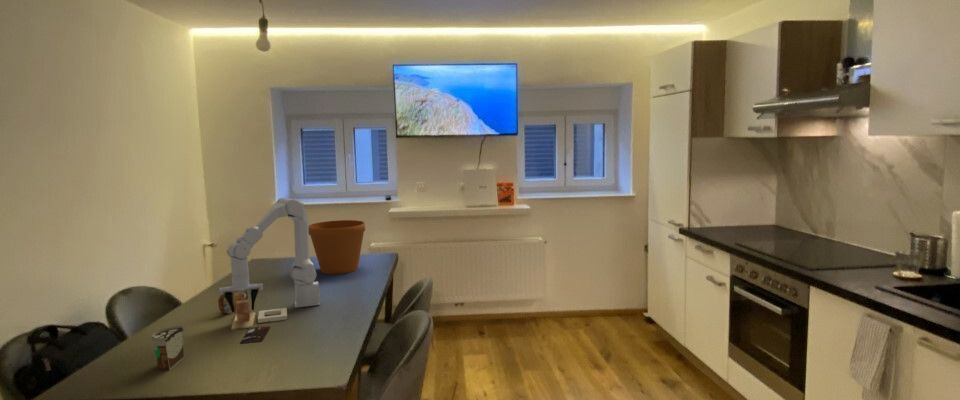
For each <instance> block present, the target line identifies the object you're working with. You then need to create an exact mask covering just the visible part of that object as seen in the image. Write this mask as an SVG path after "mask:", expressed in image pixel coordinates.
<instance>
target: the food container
mask: <svg viewBox="0 0 960 400" xmlns="http://www.w3.org/2000/svg"><path fill="white" fill-rule="evenodd" d="M184 332H185V329H184V325H181V324H180V325H174V326H170V327H169V326H168V327H166V328H165V327H164V328H162V329H160V330H157V331H155V332H154V333H153V334H152V336H151V340H150V343H151V345H152V346H153V347H154V353H155V357H156V363H157V368H158V369H159V370H161V371H171V370H172V369H173V368H174V367H175V366H177V364H179V363H180V362H181V361H182V360H183V359H184V358H185V344H184V343H185V342H184V339H185V338H184Z"/></svg>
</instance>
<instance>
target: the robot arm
mask: <svg viewBox="0 0 960 400" xmlns="http://www.w3.org/2000/svg"><path fill="white" fill-rule="evenodd" d="M283 217H288V218H289V219H291V220H292V221H293V229H294V230H293V231H294V258H295V260H294V261H292V262H293V263H292V267H291V271H290V277H291V279H292V280H293V281H294V282H293V283H294V292H295V293H294V295H295V301H294V307H295V309H296V308H304V307H312V306H320V305H321V301H320V300H321V294H320V286H319V281H315V280H316V278H317V271H316V269H315V265H314V264H315V263H313V262H312V260H311V258H310V235H309V228H308V226H309V215H308V213H307V211H306V209H305V207H304V203H303V202H302V201H300V200H299V199H297V198H286V197H281V198H278V199H277V200H276V202H274V203H273V204H272V205H271V208H270V209H269V211H267V212H266V213H265V215H264V216H263V217H262V218H261V219H260V221H259V222H258V223H256V225H254V226H253V225H252V226H250V227H246V228H245V230H244V233H242V234H241V236H239V237H237V238H236V240H235V241H234V242H231V243H230V244H229V245H228V247H227V250H226V254H227V256H229V258H230V270H231V280H232V285H229V286H224V287H219V295H222V294H223V293H225V298H226V300H227V301H228V303H229V305H230V307H231V310H232V313H231V314H233V313H235V312H236V311H235V308H234V301H233V292H242V291H247V292H249V291H250V299H251V311H254V310H255V304H256V298H257V297H258V293H259V291H262V290H263V289H264V287H263V286H264V285H263V284H264V283H250V273H249V261H248V258H249V257H248V256H250V254H251V250H252V248H253V247H255V245H256V244H257V243H258V242H259V241H260V240H261V239H262V238H263V236H264V235H263V233H264V231H266V230H267V229H268V228H269V227H270V226H271V225H272V224H273V223H275V221H276V220H277V219H280V218H283ZM234 311H235V312H234Z"/></svg>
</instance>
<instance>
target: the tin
mask: <svg viewBox="0 0 960 400" xmlns="http://www.w3.org/2000/svg"><path fill="white" fill-rule="evenodd" d="M241 300H249V294H248V291H242V292H233V301H234V308H235V311H234V312H233V313H235V312H237V309H236V303H237V301H241ZM217 303H218V308H219V309H218V310H219V311H220V312H221V313H223V314H229V315H230V313H231V314H233V313H232V310H231V307H230V305H229V303H228V301H227V300H226V298H225V293H223V294H220V296H219V298H218V301H217Z"/></svg>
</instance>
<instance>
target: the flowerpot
mask: <svg viewBox="0 0 960 400" xmlns="http://www.w3.org/2000/svg"><path fill="white" fill-rule="evenodd" d="M308 228H309V237H310V238H311V239H310V240H311V242H312V245H313V249H314V252H315V256H316V259H317V262H318V265H319V269H320V273H322V274H327V275H336V274H337V275H338V274H346V273H347V274H348V273H351V272H354V271H356V270H359V269H358V268H359V264H360V263H359V262H360V256H361V251H362V246H363V238H364V234H365V231H366V222H365V221H363V220H356V219H355V220H354V219H353V220H352V219H343V220H339V219H337V220H328V221H327V220H326V221H321V222H314V223H311V224H308Z"/></svg>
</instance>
